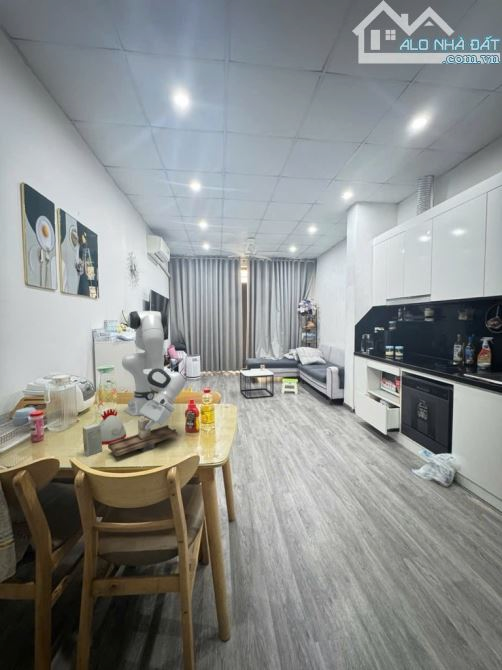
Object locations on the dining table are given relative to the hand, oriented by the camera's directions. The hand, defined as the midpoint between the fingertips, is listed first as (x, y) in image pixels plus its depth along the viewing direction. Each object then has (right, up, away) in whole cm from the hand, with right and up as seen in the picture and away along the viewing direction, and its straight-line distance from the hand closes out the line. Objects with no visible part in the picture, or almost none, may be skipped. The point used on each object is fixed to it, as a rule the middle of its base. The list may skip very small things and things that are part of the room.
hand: (142, 427), depth 122 cm
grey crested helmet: (-20, -9, +10) cm, 25 cm away
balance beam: (+1, -9, +1) cm, 9 cm away
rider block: (+1, -4, +1) cm, 4 cm away
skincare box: (-21, -10, -4) cm, 23 cm away
